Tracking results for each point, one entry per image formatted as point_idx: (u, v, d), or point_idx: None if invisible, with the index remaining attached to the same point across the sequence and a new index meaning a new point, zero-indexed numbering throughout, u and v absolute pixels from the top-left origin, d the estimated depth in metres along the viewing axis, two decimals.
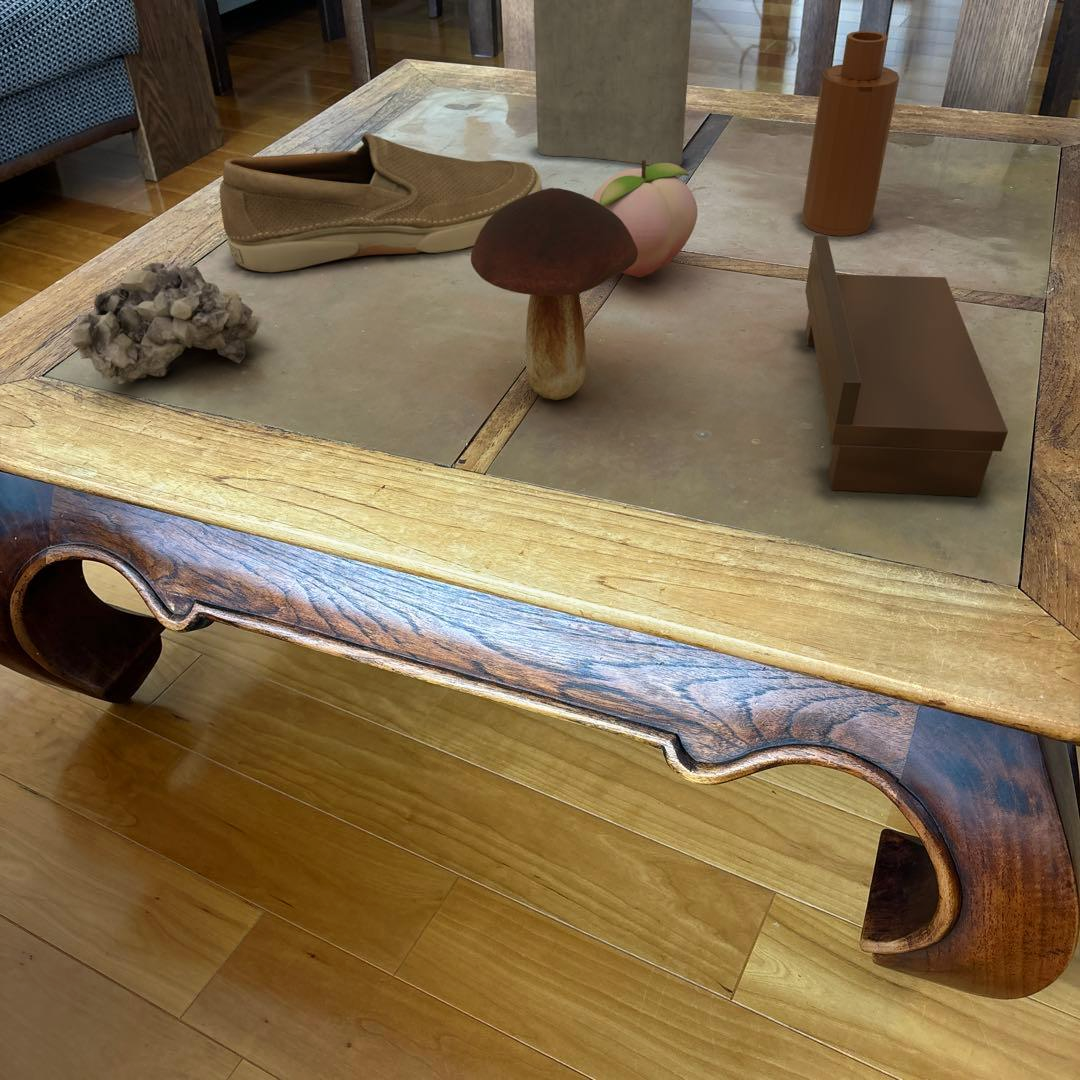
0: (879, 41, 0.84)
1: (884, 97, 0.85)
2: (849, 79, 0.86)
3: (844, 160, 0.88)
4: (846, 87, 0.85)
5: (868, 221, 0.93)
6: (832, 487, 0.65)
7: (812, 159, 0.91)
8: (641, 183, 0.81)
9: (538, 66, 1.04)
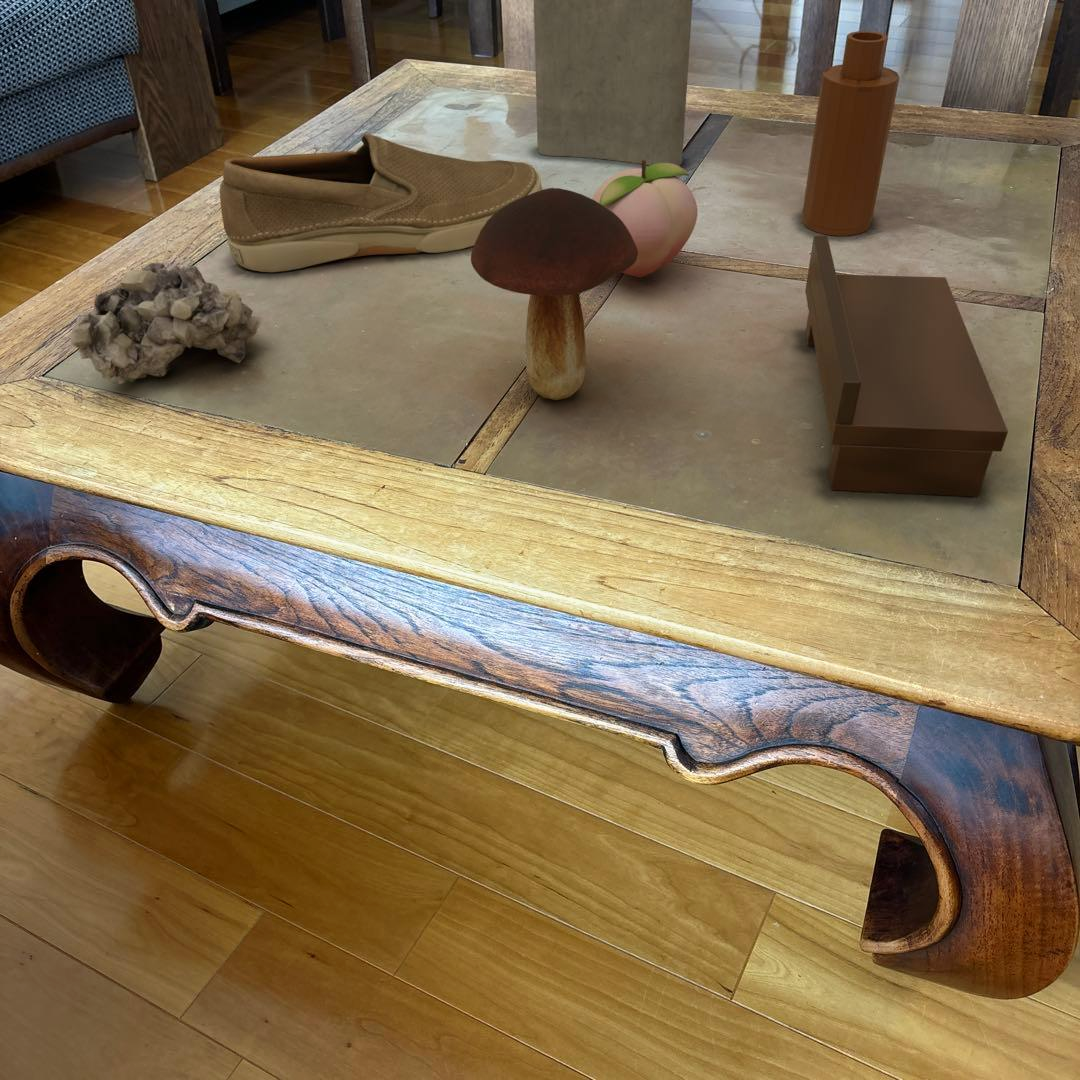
0: (879, 41, 0.84)
1: (884, 97, 0.85)
2: (849, 79, 0.86)
3: (844, 160, 0.88)
4: (846, 87, 0.85)
5: (868, 221, 0.93)
6: (832, 487, 0.65)
7: (812, 159, 0.91)
8: (641, 183, 0.81)
9: (538, 66, 1.04)
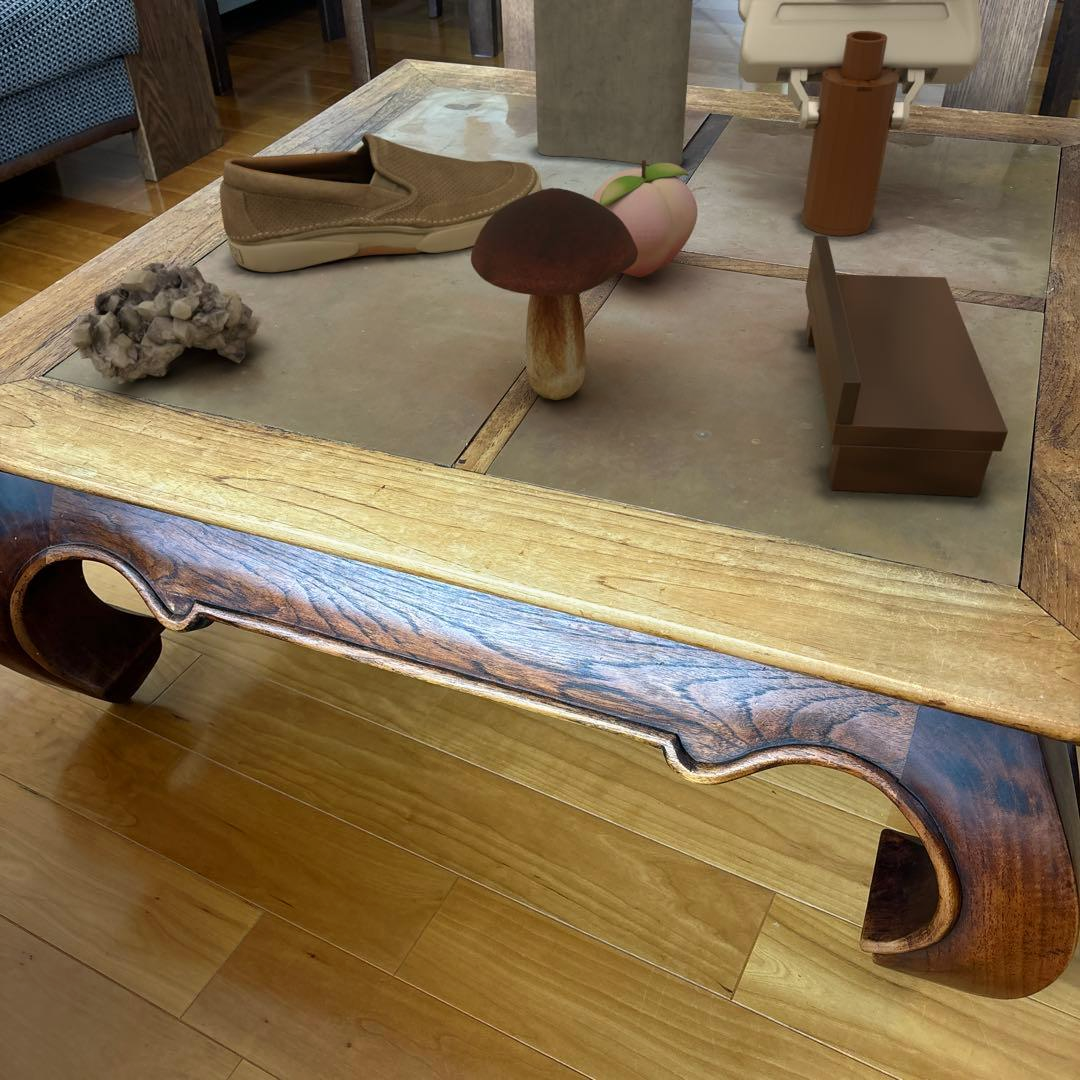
0: (879, 41, 0.84)
1: (884, 97, 0.85)
2: (849, 79, 0.86)
3: (844, 160, 0.88)
4: (845, 87, 0.85)
5: (868, 221, 0.93)
6: (832, 487, 0.65)
7: (812, 159, 0.91)
8: (641, 183, 0.81)
9: (538, 66, 1.04)
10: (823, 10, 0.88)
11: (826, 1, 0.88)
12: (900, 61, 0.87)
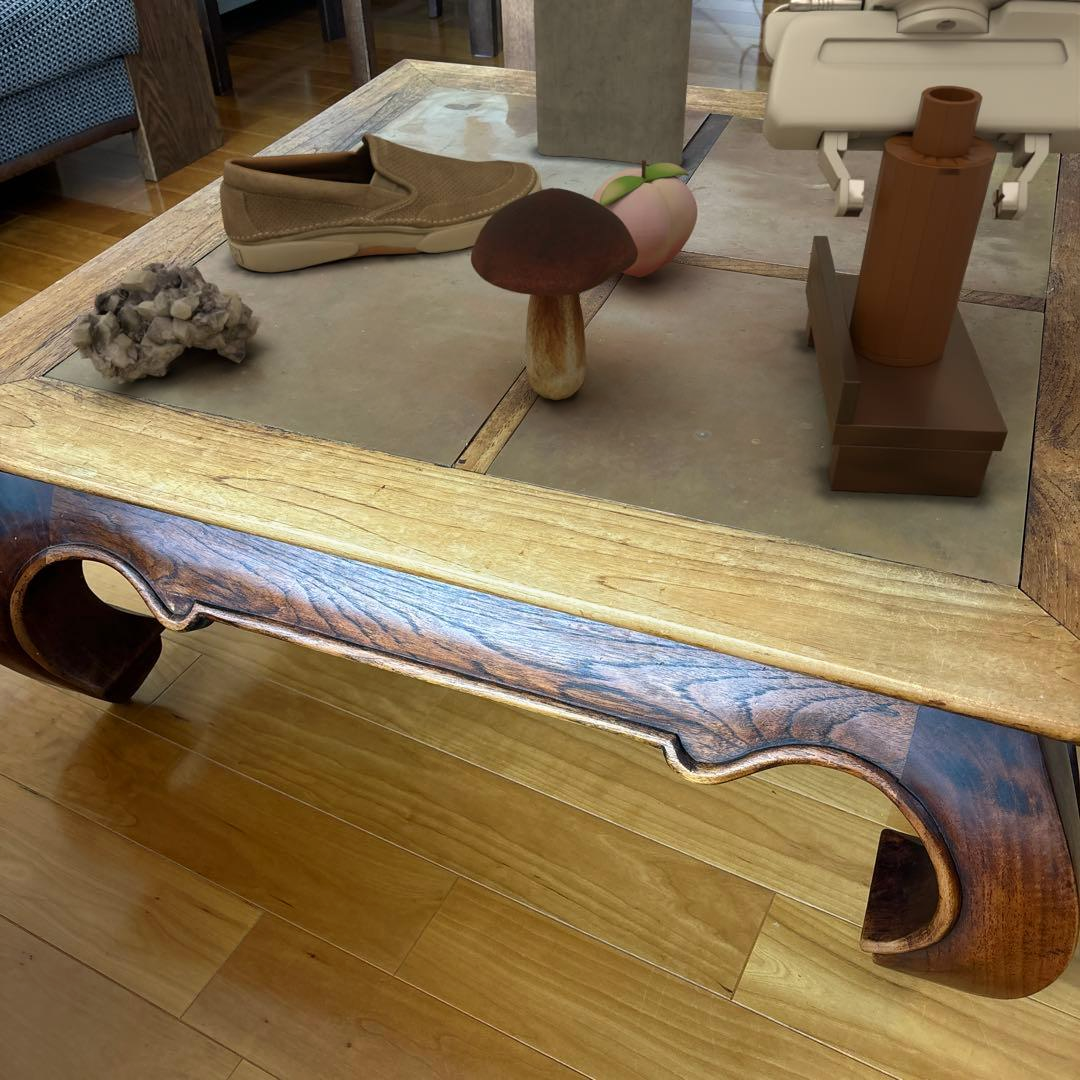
0: (971, 103, 0.57)
1: (976, 182, 0.59)
2: (924, 156, 0.59)
3: (914, 268, 0.62)
4: (921, 169, 0.58)
5: (943, 346, 0.66)
6: (832, 487, 0.65)
7: (866, 262, 0.64)
8: (641, 183, 0.81)
9: (538, 66, 1.04)
10: (885, 49, 0.62)
11: (890, 36, 0.61)
12: (997, 124, 0.60)
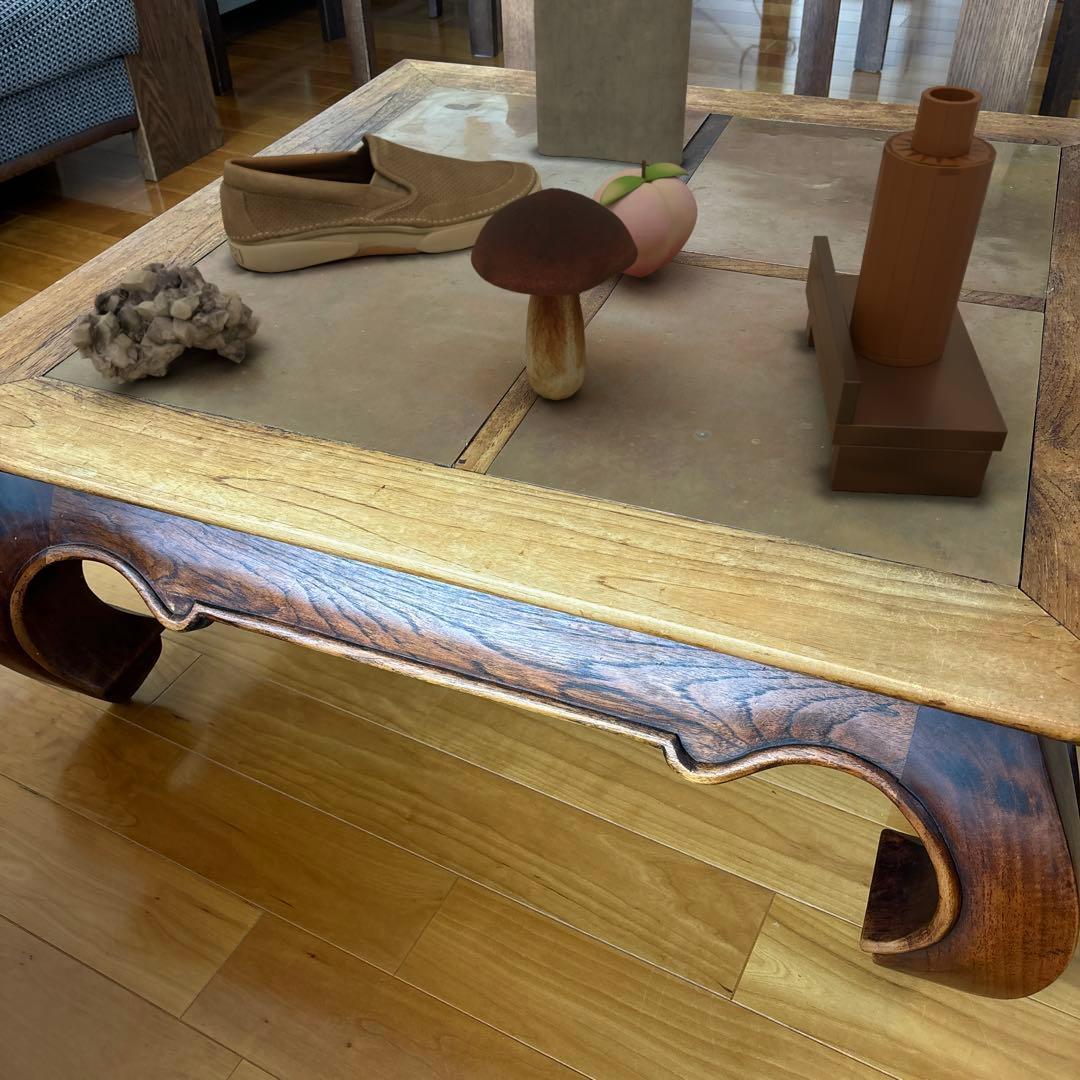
0: (971, 103, 0.57)
1: (976, 182, 0.59)
2: (924, 156, 0.59)
3: (914, 268, 0.62)
4: (921, 169, 0.58)
5: (943, 346, 0.66)
6: (832, 487, 0.65)
7: (866, 262, 0.64)
8: (641, 183, 0.81)
9: (538, 66, 1.04)
10: None
11: None
12: None
